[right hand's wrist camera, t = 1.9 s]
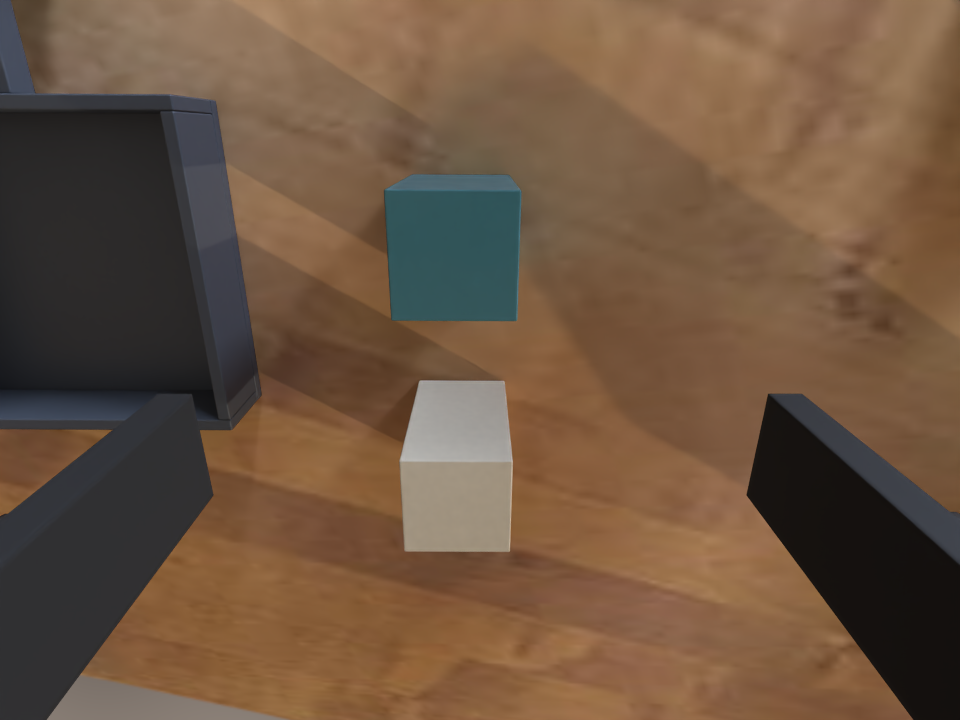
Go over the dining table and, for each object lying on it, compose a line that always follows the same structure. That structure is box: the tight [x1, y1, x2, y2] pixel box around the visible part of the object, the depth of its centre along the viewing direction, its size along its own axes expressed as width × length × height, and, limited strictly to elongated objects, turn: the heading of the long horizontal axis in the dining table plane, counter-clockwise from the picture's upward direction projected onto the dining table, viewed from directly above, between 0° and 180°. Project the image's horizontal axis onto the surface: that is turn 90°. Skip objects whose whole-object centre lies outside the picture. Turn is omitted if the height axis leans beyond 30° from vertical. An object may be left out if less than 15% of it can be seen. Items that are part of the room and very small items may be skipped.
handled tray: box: [0, 0, 261, 430], centre depth 23 cm, size 27×15×7 cm, turn 0°
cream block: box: [399, 381, 513, 552], centre depth 28 cm, size 5×5×8 cm
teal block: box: [384, 174, 521, 321], centre depth 24 cm, size 5×5×8 cm
